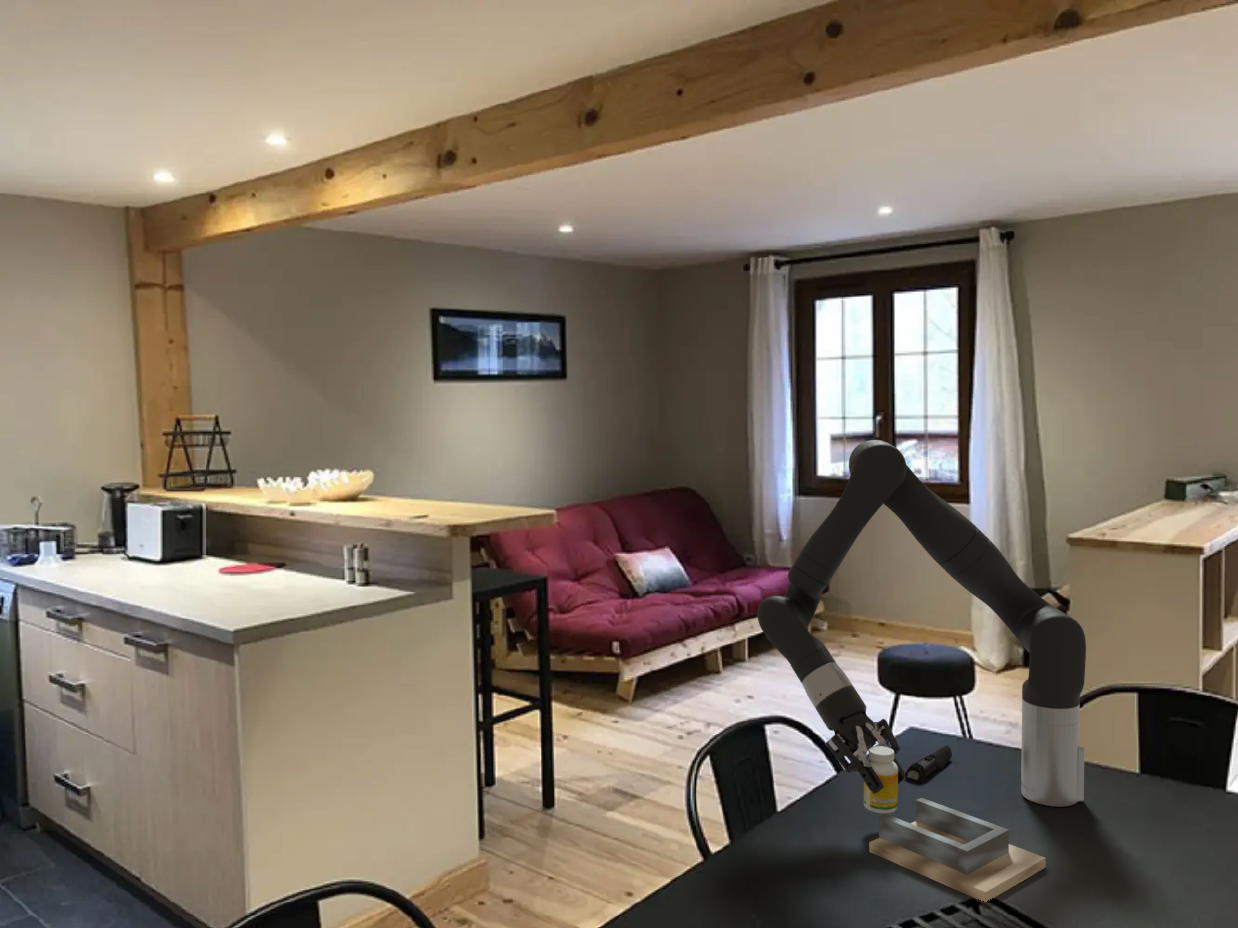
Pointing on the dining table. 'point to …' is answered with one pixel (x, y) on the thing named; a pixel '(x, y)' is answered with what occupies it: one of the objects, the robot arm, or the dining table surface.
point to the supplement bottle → (888, 776)
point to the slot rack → (955, 850)
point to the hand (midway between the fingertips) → (890, 785)
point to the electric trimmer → (928, 765)
